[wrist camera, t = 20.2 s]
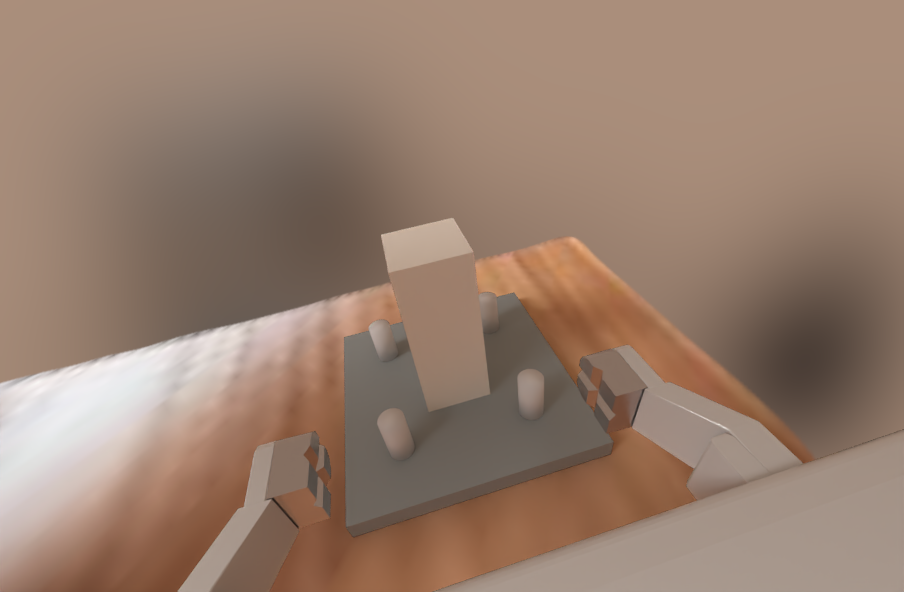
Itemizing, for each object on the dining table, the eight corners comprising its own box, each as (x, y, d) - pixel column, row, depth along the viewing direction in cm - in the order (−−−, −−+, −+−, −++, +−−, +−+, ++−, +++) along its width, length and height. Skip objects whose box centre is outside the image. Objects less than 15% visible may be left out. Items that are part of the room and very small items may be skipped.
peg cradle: (353, 537, 24) (326, 501, 21) (348, 347, 38) (332, 310, 35) (611, 453, 26) (620, 410, 23) (514, 303, 40) (512, 264, 37)
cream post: (428, 412, 29) (388, 273, 21) (418, 366, 33) (381, 234, 25) (490, 394, 29) (473, 251, 21) (472, 350, 33) (452, 217, 25)
